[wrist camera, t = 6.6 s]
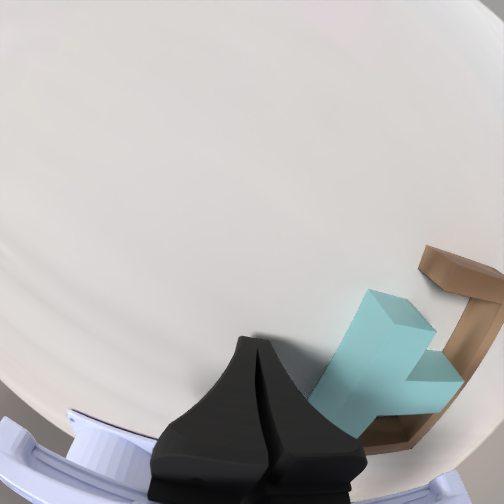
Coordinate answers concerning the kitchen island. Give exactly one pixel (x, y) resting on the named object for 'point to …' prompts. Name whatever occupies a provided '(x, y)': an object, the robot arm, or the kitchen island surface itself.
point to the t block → (384, 367)
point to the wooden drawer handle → (458, 347)
